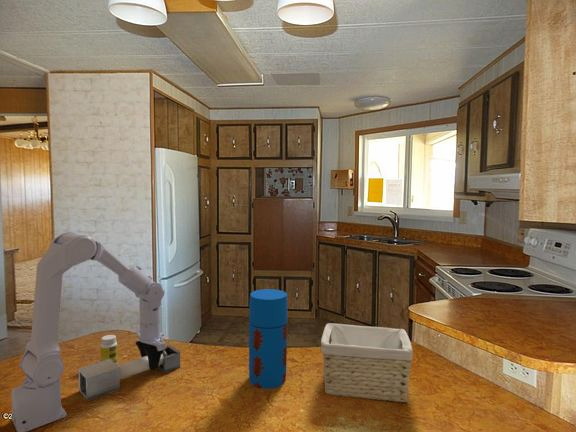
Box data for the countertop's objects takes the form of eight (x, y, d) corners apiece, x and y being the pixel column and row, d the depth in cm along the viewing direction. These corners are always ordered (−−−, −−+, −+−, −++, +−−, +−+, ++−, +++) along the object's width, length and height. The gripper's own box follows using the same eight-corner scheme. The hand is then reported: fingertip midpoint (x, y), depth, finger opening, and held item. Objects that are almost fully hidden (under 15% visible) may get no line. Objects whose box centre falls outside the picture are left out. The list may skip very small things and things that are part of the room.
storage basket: (318, 396, 98) (319, 342, 97) (324, 367, 114) (325, 321, 113) (412, 408, 93) (414, 351, 92) (404, 376, 109) (406, 328, 108)
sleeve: (87, 401, 94) (87, 377, 93) (79, 390, 98) (78, 368, 98) (119, 389, 99) (119, 367, 99) (110, 380, 104) (109, 359, 104)
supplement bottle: (110, 368, 111) (110, 340, 111) (97, 366, 112) (96, 339, 112) (120, 360, 116) (120, 334, 115) (107, 359, 117) (107, 333, 116)
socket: (164, 372, 109) (164, 356, 108) (154, 365, 113) (154, 349, 113) (180, 367, 112) (180, 351, 112) (169, 359, 117) (169, 344, 117)
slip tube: (112, 385, 99) (112, 370, 99) (107, 379, 102) (106, 365, 102) (167, 365, 111) (167, 352, 110) (161, 361, 114) (161, 348, 113)
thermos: (241, 382, 104) (241, 296, 102) (261, 366, 113) (262, 287, 112) (274, 393, 99) (276, 302, 97) (292, 375, 108) (294, 292, 107)
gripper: (174, 324, 106) (175, 370, 107) (151, 312, 116) (152, 354, 117) (151, 331, 101) (151, 379, 102) (129, 317, 111) (130, 361, 112)
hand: (150, 366), depth 109 cm, fingers closed on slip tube, 4 cm apart
